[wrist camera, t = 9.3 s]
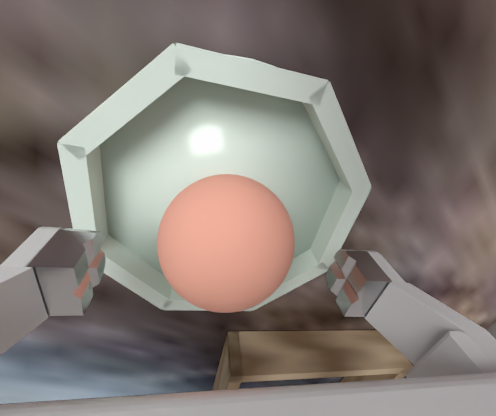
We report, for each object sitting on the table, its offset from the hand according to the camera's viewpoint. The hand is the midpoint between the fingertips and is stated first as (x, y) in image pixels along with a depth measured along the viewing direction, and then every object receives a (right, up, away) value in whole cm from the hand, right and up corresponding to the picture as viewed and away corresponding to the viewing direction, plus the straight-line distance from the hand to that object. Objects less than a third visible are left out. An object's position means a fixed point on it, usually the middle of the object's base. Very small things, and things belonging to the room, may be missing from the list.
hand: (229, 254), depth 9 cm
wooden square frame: (+5, -14, +14) cm, 21 cm away
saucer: (-1, +2, +3) cm, 4 cm away
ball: (0, 0, +1) cm, 1 cm away
